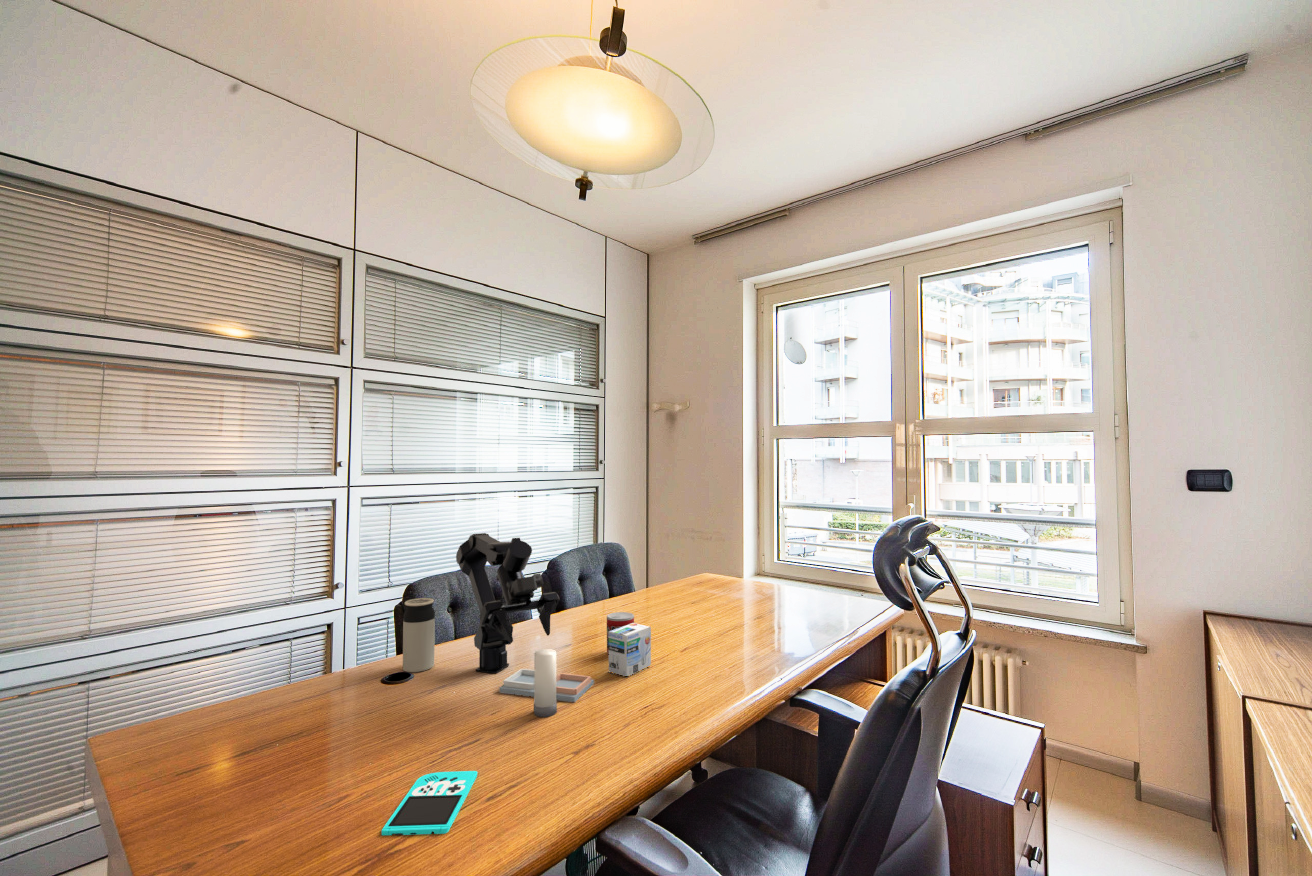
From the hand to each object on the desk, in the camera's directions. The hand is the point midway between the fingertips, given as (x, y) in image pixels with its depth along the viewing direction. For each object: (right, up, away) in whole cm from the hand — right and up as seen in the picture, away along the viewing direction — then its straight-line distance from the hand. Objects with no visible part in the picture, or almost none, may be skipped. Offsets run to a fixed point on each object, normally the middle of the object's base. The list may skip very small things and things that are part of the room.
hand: (530, 638), depth 131 cm
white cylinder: (+5, -14, -7) cm, 16 cm away
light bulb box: (+23, -15, +18) cm, 33 cm away
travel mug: (-35, -16, +21) cm, 44 cm away
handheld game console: (-7, -13, -40) cm, 43 cm away
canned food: (+19, -16, +31) cm, 40 cm away
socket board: (+3, -14, +6) cm, 16 cm away
